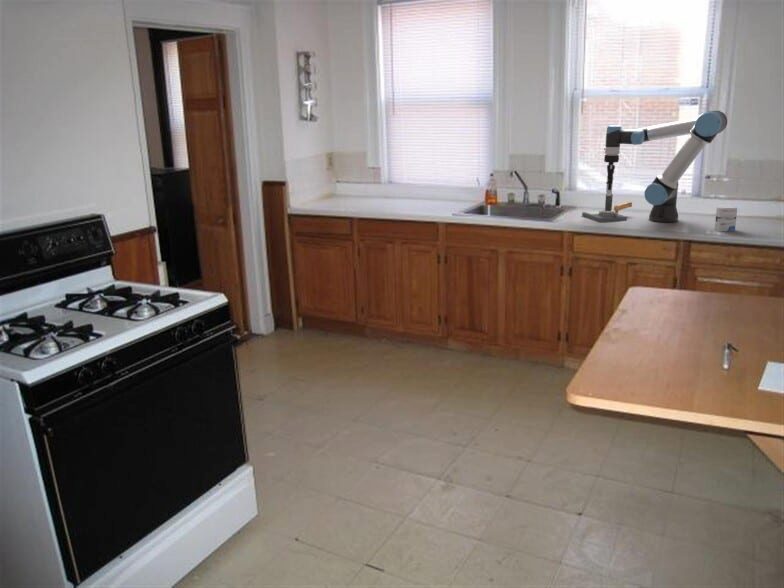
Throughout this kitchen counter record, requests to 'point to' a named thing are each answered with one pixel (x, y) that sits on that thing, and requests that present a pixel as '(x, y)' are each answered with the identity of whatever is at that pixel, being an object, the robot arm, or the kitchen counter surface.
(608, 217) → the socket board
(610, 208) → the plug
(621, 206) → the clip
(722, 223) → the ink box
